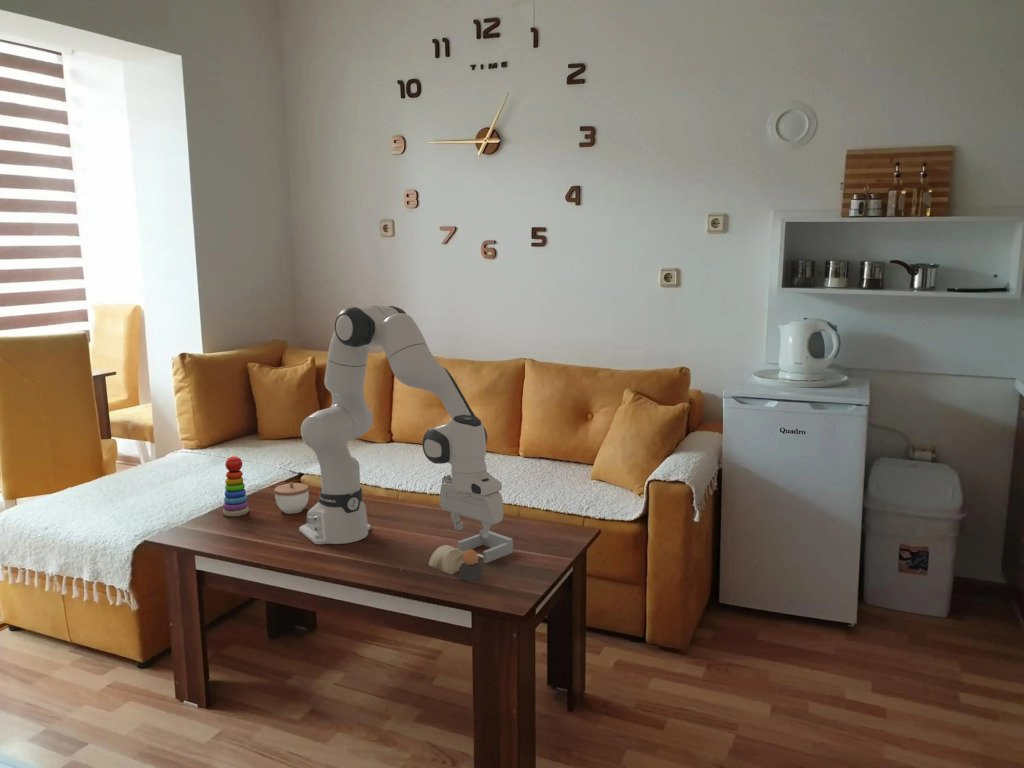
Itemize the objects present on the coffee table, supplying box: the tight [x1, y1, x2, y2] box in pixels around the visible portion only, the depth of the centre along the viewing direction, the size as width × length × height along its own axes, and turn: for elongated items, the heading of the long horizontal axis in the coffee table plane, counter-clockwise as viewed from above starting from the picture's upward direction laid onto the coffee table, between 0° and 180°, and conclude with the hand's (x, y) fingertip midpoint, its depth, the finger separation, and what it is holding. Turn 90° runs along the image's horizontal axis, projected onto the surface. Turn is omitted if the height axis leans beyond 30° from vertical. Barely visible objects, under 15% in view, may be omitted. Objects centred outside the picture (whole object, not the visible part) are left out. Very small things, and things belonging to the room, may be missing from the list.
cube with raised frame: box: [458, 562, 483, 583], centre depth 202 cm, size 4×4×4 cm
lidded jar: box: [273, 482, 310, 515], centre depth 257 cm, size 11×11×9 cm
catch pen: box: [456, 530, 514, 564], centre depth 220 cm, size 12×10×4 cm
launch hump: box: [428, 544, 479, 575], centre depth 212 cm, size 9×10×10 cm
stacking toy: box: [222, 456, 250, 517], centre depth 254 cm, size 8×8×19 cm
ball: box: [462, 549, 479, 565], centre depth 202 cm, size 4×4×4 cm
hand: (471, 533), depth 201 cm, fingers open, 8 cm apart
